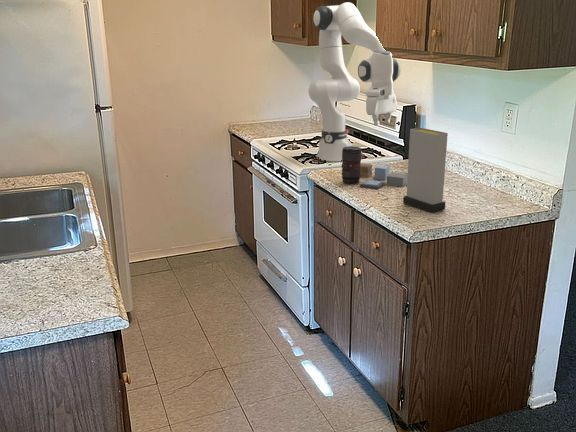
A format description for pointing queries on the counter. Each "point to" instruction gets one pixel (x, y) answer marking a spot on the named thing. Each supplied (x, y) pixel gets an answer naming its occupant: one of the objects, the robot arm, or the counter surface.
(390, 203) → the counter surface
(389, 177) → the riser block
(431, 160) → the container
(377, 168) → the slate blue cube
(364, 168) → the walnut cube
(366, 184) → the tile
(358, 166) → the camera lens
